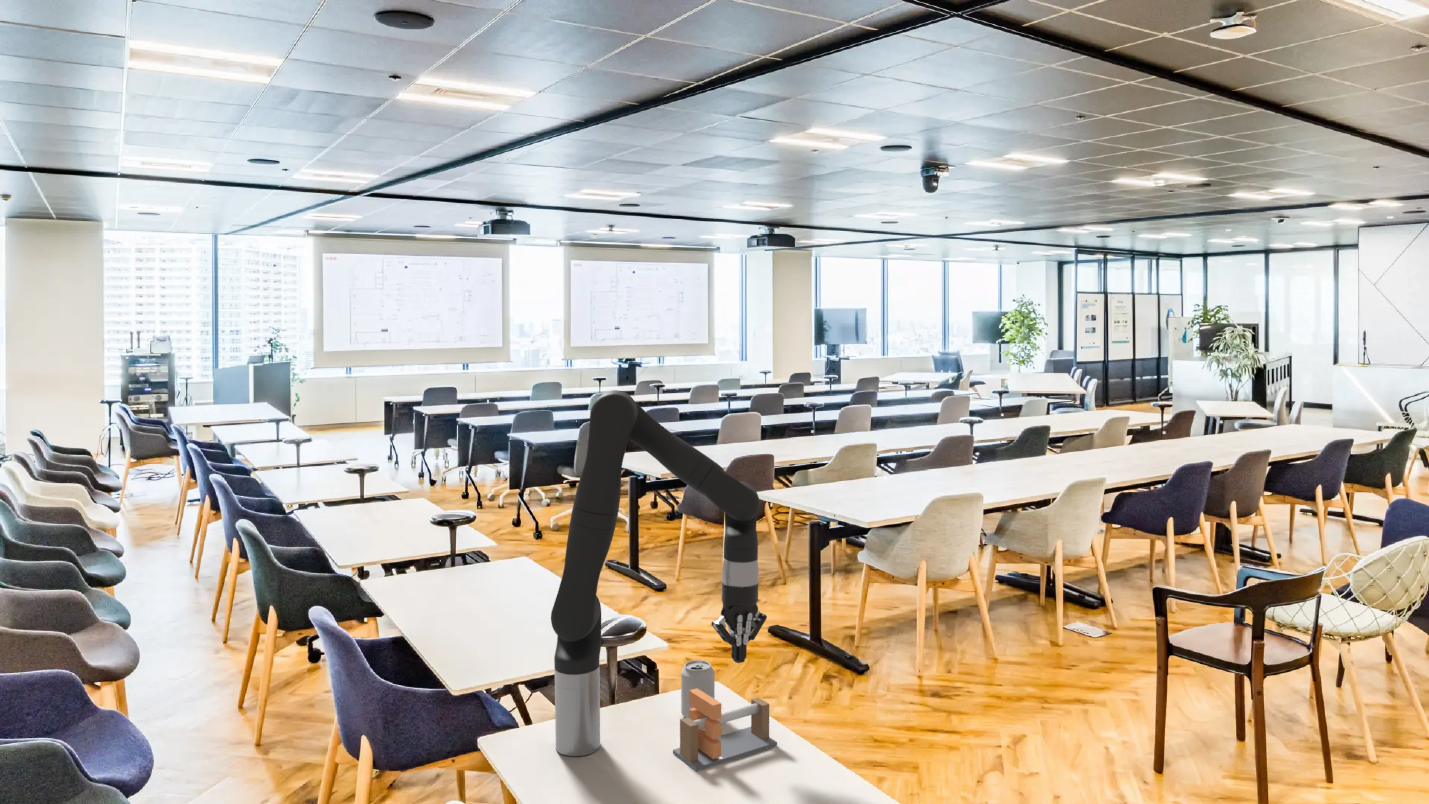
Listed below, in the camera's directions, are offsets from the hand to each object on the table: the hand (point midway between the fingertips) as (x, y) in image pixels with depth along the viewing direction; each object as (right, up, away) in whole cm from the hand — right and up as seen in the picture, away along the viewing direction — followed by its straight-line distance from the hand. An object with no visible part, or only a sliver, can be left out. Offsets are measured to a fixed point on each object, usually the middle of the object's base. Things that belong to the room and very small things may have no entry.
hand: (738, 661), depth 189 cm
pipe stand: (-3, -18, 0) cm, 18 cm away
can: (-9, -17, +16) cm, 25 cm away
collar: (-7, -17, -3) cm, 19 cm away
